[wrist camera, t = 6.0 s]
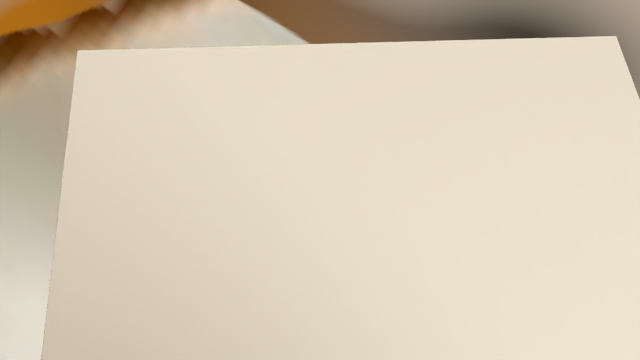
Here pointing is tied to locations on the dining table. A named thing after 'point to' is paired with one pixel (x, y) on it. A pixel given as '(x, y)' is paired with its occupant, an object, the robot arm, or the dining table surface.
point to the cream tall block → (350, 203)
